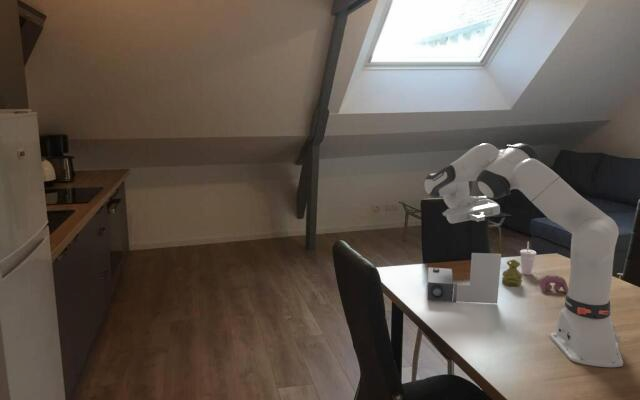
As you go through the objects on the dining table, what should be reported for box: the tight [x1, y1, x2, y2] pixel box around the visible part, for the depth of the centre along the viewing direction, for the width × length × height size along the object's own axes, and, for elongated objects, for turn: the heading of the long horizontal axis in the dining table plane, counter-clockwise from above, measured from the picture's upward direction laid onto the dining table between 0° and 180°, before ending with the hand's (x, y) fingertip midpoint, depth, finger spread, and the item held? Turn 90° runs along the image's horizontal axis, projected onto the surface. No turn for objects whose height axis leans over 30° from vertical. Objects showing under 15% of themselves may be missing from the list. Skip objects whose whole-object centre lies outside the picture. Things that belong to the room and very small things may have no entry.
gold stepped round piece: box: [501, 259, 523, 288], centre depth 196 cm, size 7×7×10 cm
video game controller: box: [539, 274, 569, 294], centre depth 191 cm, size 10×5×7 cm, turn 85°
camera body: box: [426, 266, 455, 303], centre depth 187 cm, size 18×9×8 cm, turn 168°
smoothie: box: [519, 241, 537, 276], centre depth 208 cm, size 6×6×14 cm
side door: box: [452, 252, 502, 304], centre depth 177 cm, size 16×1×19 cm, turn 84°
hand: (481, 219), depth 183 cm, fingers closed
